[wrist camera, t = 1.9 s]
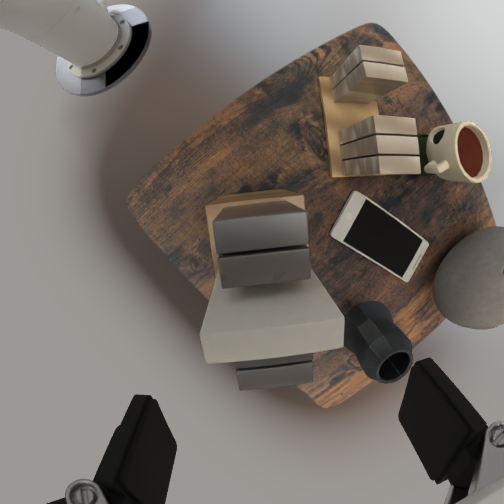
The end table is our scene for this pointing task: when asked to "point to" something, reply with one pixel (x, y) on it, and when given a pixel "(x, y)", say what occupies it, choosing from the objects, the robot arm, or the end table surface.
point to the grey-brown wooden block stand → (367, 117)
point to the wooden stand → (262, 265)
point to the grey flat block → (270, 321)
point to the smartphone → (379, 236)
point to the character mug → (455, 153)
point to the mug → (377, 342)
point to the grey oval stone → (473, 280)
